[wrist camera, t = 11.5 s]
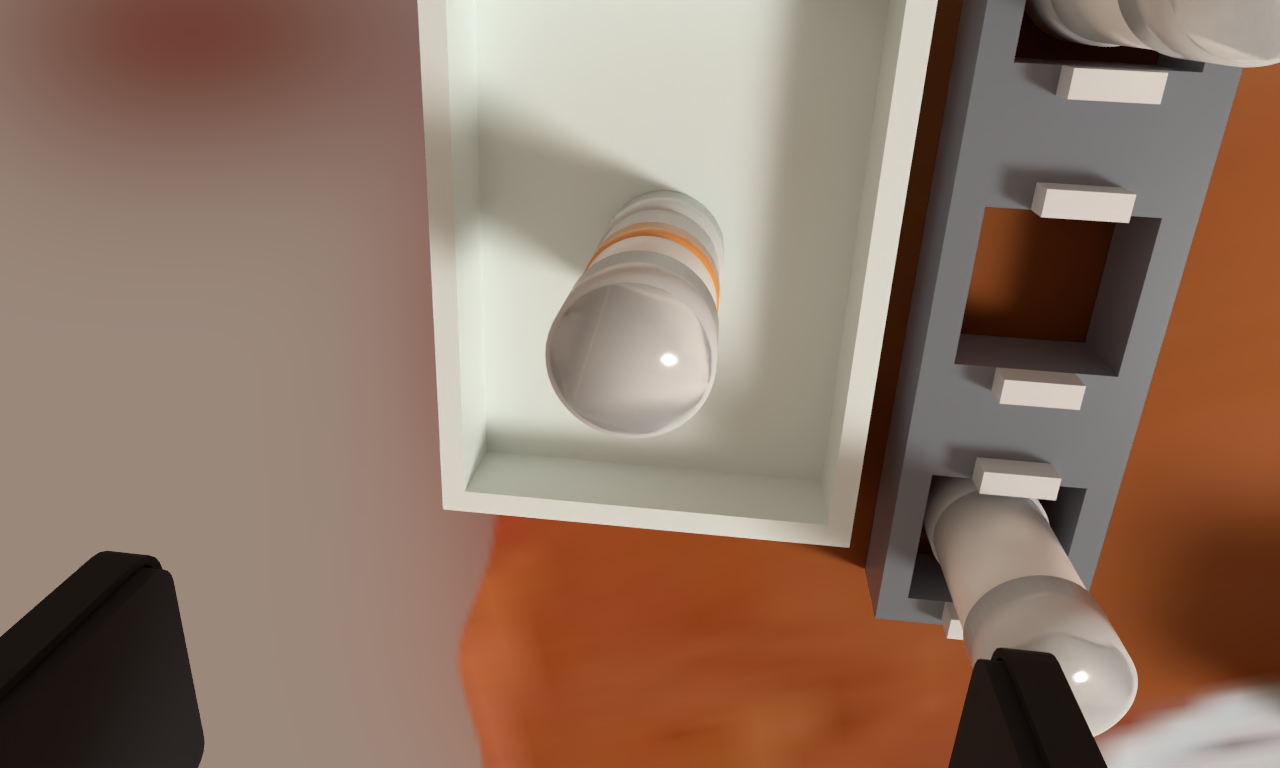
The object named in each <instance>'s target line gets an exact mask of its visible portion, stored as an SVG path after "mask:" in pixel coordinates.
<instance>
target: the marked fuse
mask: <svg viewBox="0 0 1280 768" xmlns="http://www.w3.org/2000/svg"><path fill="white" fill-rule="evenodd" d="M723 263H724V241H723V236H722V232H721V230H720V227H719V225H718V223H717V221H716V219H715V217H714V216H713V215H712V214H711V212H710V211H709V210H708V209H707V208H706V207H705V206H704V205H703V204H702V203H700V202H699V201H698V200H696V199H694V198H692V197H691V196H688V195H686V194H684V193H680V192H676V191H670V190H657V191H650V192H647V193H643V194H641V195H639V196H636V197H635V198H633V199H631V200H629V201H628V202H627V203H626V204H624V205H623V206H622V207H621V208H620V209H619V210H618V212H617V213H616V214H615V216H614V217H613V219H612V220H611V222H610V224H609V226H608V227H607V229H606V231H605V233H604V234H603V236H602V238H601V240H600V242H599V244H598V247H597V249H596V252H595V253H594V255H593V257H592V259H591V260H590V262H589V264H588V266H587V268H586V269H585V271H584V273H583V274H582V275H581V276H580V278H579V279H578V280H577V282H576V283H575V284H574V286H573V288H572V290H571V291H570V293H569V295H568V297H567V298H566V300H565V302H564V304H563V305H562V307H561V309H560V310H559V312H558V314H557V316H556V317H555V319H554V321H553V323H552V325H551V328H550V331H549V333H548V337H547V342H546V351H545V357H546V367H547V372H548V376H549V379H550V382H551V385H552V387H553V389H554V391H555V393H556V395H557V396H558V398H559V399H560V401H561V402H562V403H563V405H564V406H565V407H566V408H567V409H568V410H569V411H570V412H571V413H572V414H573V415H574V416H575V417H576V418H577V419H579V420H580V421H582V422H583V423H584V424H586V425H588V426H590V427H591V428H593V429H595V430H597V431H600V432H602V433H605V434H608V435H612V436H616V437H622V438H648V437H653V436H658V435H661V434H664V433H667V432H669V431H671V430H673V429H675V428H677V427H679V426H681V425H682V424H684V423H685V422H687V421H688V420H689V419H690V418H691V417H692V416H694V415H695V414H696V412H697V411H698V410H699V409H700V408H701V407H702V405H703V404H704V402H705V401H706V399H707V397H708V395H709V393H710V391H711V389H712V386H713V383H714V380H715V374H716V367H717V352H718V337H719V319H718V309H719V296H720V286H721V283H722V276H723Z"/></svg>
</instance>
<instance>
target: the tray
mask: <svg viewBox="0 0 1280 768" xmlns="http://www.w3.org/2000/svg"><path fill="white" fill-rule="evenodd" d="M937 2H938V0H417V3H418V23H419V42H420V62H421V81H422V82H421V83H422V102H423V122H424V142H425V161H426V181H427V202H428V221H429V241H430V261H431V280H432V300H433V320H434V340H435V360H436V380H437V400H438V419H439V438H440V459H441V477H442V478H441V479H442V499H443V509H445V510H456V511H467V512H477V513H487V514H498V515H509V516H519V517H530V518H540V519H551V520H561V521H572V522H582V523H593V524H604V525H614V526H625V527H635V528H646V529H656V530H667V531H677V532H688V533H699V534H709V535H720V536H730V537H741V538H751V539H762V540H772V541H783V542H794V543H804V544H815V545H825V546H836V547H846V548H849V547H850V541H851V534H852V528H853V522H854V516H855V510H856V503H857V497H858V491H859V485H860V479H861V473H862V466H863V460H864V454H865V448H866V442H867V435H868V429H869V423H870V417H871V411H872V404H873V398H874V392H875V386H876V380H877V374H878V367H879V361H880V355H881V349H882V343H883V336H884V330H885V324H886V318H887V312H888V305H889V299H890V293H891V287H892V281H893V275H894V268H895V262H896V256H897V250H898V244H899V237H900V231H901V225H902V219H903V213H904V206H905V200H906V194H907V188H908V182H909V176H910V169H911V163H912V157H913V151H914V145H915V138H916V132H917V126H918V120H919V114H920V108H921V101H922V95H923V89H924V83H925V77H926V70H927V64H928V58H929V52H930V46H931V39H932V33H933V27H934V21H935V15H936V9H937ZM657 190H670V191H676V192H680V193H684V194H686V195H688V196H691V197H692V198H694V199H696V200H698V201H699V202H700V203H702V204H703V205H704V206H705V207H706V208H707V209H708V210H709V211H710V212H711V214H712V215H713V216H714V217H715V219H716V221H717V223H718V225H719V227H720V230H721V232H722V236H723V241H724V263H723V276H722V283H721V286H720V296H719V309H718V319H719V337H718V352H717V367H716V374H715V380H714V383H713V386H712V389H711V391H710V393H709V395H708V397H707V399H706V401H705V402H704V404H703V405H702V407H701V408H700V409H699V410H698V411H697V412H696V414H695V415H694V416H692V417H691V418H690V419H689V420H688V421H687V422H685V423H684V424H682V425H681V426H679V427H677V428H675V429H673V430H671V431H669V432H667V433H664V434H661V435H658V436H653V437H648V438H622V437H616V436H612V435H608V434H605V433H602V432H600V431H597V430H595V429H593V428H591V427H590V426H588V425H586V424H584V423H583V422H582V421H580V420H579V419H577V418H576V417H575V416H574V415H573V414H572V413H571V412H570V411H569V410H568V409H567V408H566V407H565V406H564V405H563V403H562V402H561V401H560V399H559V398H558V396H557V395H556V393H555V391H554V389H553V387H552V385H551V382H550V379H549V376H548V372H547V367H546V357H545V351H546V342H547V337H548V333H549V331H550V328H551V325H552V323H553V321H554V319H555V317H556V316H557V314H558V312H559V310H560V309H561V307H562V305H563V304H564V302H565V300H566V298H567V297H568V295H569V293H570V291H571V290H572V288H573V286H574V284H575V283H576V282H577V280H578V279H579V278H580V276H581V275H582V274H583V273H584V271H585V269H586V268H587V266H588V264H589V262H590V260H591V259H592V257H593V255H594V253H595V252H596V249H597V247H598V244H599V242H600V240H601V238H602V236H603V234H604V233H605V231H606V229H607V227H608V226H609V224H610V222H611V220H612V219H613V217H614V216H615V214H616V213H617V212H618V210H619V209H620V208H621V207H622V206H623V205H624V204H626V203H627V202H628V201H629V200H631V199H633V198H635V197H636V196H639V195H641V194H643V193H647V192H650V191H657Z"/></svg>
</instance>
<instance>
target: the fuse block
mask: <svg viewBox="0 0 1280 768" xmlns="http://www.w3.org/2000/svg"><path fill="white" fill-rule="evenodd" d="M1025 3H1026V0H963V2H962V8H961V14H960V20H959V26H958V31H957V37H956V43H955V49H954V55H953V61H952V66H951V72H950V78H949V84H948V90H947V95H946V101H945V107H944V113H943V119H942V125H941V130H940V136H939V142H938V148H937V154H936V160H935V165H934V171H933V177H932V183H931V189H930V194H929V200H928V206H927V212H926V218H925V224H924V229H923V235H922V241H921V247H920V253H919V258H918V264H917V270H916V276H915V282H914V288H913V293H912V299H911V305H910V311H909V317H908V322H907V328H906V334H905V340H904V346H903V352H902V357H901V363H900V369H899V375H898V381H897V386H896V392H895V398H894V404H893V410H892V416H891V421H890V427H889V433H888V439H887V445H886V450H885V456H884V462H883V468H882V474H881V480H880V485H879V491H878V497H877V503H876V509H875V514H874V520H873V526H872V532H871V538H870V544H869V549H868V555H867V561H866V567H865V572H866V577H867V581H868V586H869V591H870V596H871V600H872V605H873V610H874V615H875V618H880V619H890V620H900V621H910V622H920V623H930V624H939V625H943V627H944V630H945V634H946V637H947V638H950V639H959V640H963V629H962V626H961V623H960V620H959V618H958V615H957V612H956V609H955V606H954V603H953V600H952V597H951V594H950V592H949V589H948V586H947V583H946V580H945V577H944V574H943V571H942V568H941V565H940V564H939V562H938V561H937V559H936V558H935V556H934V554H925V553H917V549H918V544H919V539H920V534H921V529H922V524H923V519H924V514H925V509H926V504H927V499H928V494H929V489H930V484H931V479H932V475H938V476H950V477H961V478H972V479H973V481H974V484H975V486H976V488H977V490H978V492H979V494H989V495H1000V496H1011V497H1022V498H1034V499H1045V500H1044V504H1043V509H1044V510H1045V512H1046V514H1047V517H1048V520H1049V525H1050V527H1051V529H1052V530H1053V532H1054V534H1055V536H1056V537H1057V539H1058V541H1059V543H1060V544H1061V546H1062V548H1063V549H1064V551H1065V553H1066V555H1067V556H1068V558H1069V560H1070V562H1071V563H1072V565H1073V567H1074V569H1075V570H1076V572H1077V574H1078V575H1079V577H1080V579H1081V581H1082V582H1083V584H1084V586H1085V588H1086V589H1087V591H1088V592H1089V590H1090V587H1091V583H1092V580H1093V576H1094V573H1095V570H1096V566H1097V563H1098V559H1099V556H1100V553H1101V549H1102V546H1103V542H1104V539H1105V536H1106V532H1107V529H1108V525H1109V522H1110V519H1111V515H1112V512H1113V508H1114V505H1115V502H1116V498H1117V495H1118V491H1119V488H1120V485H1121V481H1122V478H1123V474H1124V471H1125V468H1126V464H1127V461H1128V457H1129V454H1130V451H1131V447H1132V444H1133V440H1134V437H1135V434H1136V430H1137V427H1138V423H1139V420H1140V417H1141V413H1142V410H1143V406H1144V403H1145V400H1146V396H1147V393H1148V389H1149V386H1150V383H1151V379H1152V376H1153V372H1154V369H1155V366H1156V362H1157V359H1158V355H1159V352H1160V349H1161V345H1162V342H1163V338H1164V335H1165V332H1166V328H1167V325H1168V321H1169V318H1170V315H1171V311H1172V308H1173V304H1174V301H1175V298H1176V294H1177V291H1178V287H1179V284H1180V281H1181V277H1182V274H1183V270H1184V267H1185V264H1186V260H1187V257H1188V253H1189V250H1190V247H1191V243H1192V240H1193V236H1194V233H1195V230H1196V226H1197V223H1198V219H1199V216H1200V213H1201V209H1202V206H1203V202H1204V199H1205V196H1206V192H1207V189H1208V185H1209V182H1210V179H1211V175H1212V172H1213V168H1214V165H1215V162H1216V158H1217V155H1218V151H1219V148H1220V145H1221V141H1222V138H1223V134H1224V131H1225V128H1226V124H1227V121H1228V117H1229V114H1230V111H1231V107H1232V104H1233V100H1234V97H1235V94H1236V90H1237V87H1238V83H1239V80H1240V77H1241V73H1242V70H1243V67H1234V66H1226V65H1219V64H1213V63H1206V62H1200V61H1193V60H1186V59H1180V58H1174V57H1170V56H1167V55H1164V54H1161V53H1159V57H1158V61H1157V65H1156V64H1137V63H1117V62H1098V61H1079V60H1060V59H1041V58H1021V57H1015V53H1016V48H1017V43H1018V38H1019V33H1020V28H1021V23H1022V18H1023V13H1024V8H1025ZM985 207H998V208H1014V209H1029V210H1032V211H1033V212H1035V213H1036V214H1037V215H1039V216H1040V217H1044V218H1059V219H1074V220H1090V221H1105V222H1116V224H1115V228H1114V232H1113V236H1112V239H1111V243H1110V247H1109V251H1108V255H1107V259H1106V263H1105V267H1104V271H1103V274H1102V278H1101V282H1100V286H1099V290H1098V294H1097V298H1096V302H1095V305H1094V309H1093V313H1092V317H1091V321H1090V325H1089V329H1088V333H1087V337H1086V340H1085V343H1079V342H1066V341H1053V340H1040V339H1026V338H1013V337H1000V336H987V335H974V334H960V332H961V327H962V322H963V317H964V312H965V307H966V301H967V296H968V291H969V286H970V281H971V276H972V271H973V266H974V261H975V256H976V251H977V246H978V241H979V236H980V231H981V226H982V220H983V215H984V210H985Z"/></svg>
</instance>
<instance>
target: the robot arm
mask: <svg viewBox="0 0 1280 768" xmlns="http://www.w3.org/2000/svg"><path fill="white" fill-rule="evenodd" d="M203 751H204V736H203V730H202V725H201V720H200V714H199V709H198V704H197V699H196V694H195V689H194V684H193V678H192V673H191V668H190V664H189V658H188V653H187V648H186V643H185V637H184V633H183V627H182V622H181V618H180V612H179V607H178V602H177V597H176V591H175V586H174V581H173V578H172V575H171V574H170V573H169V572H168V571H166V570H163V569H162V567H161V564H160V562H159V561H158V560H157V559H156V558H155V557H152V556H149V555H140V554H130V553H121V552H112V551H104V552H100V553H98V554H96V555H95V556H93V557H92V558H91V559H90V560H88V561H87V562H86V563H85V564H84V565H82V566H81V567H80V568H79V569H78V570H77V571H76V572H75V573H73V574H72V575H71V576H70V577H69V578H68V579H66V580H65V581H64V582H63V583H62V584H61V585H59V587H57V588H56V589H55V590H54V591H53V592H52V593H50V594H49V595H48V596H47V597H46V598H45V599H43V600H42V601H41V602H40V603H39V604H38V605H37V606H35V607H34V608H33V609H32V610H31V611H30V612H28V613H27V614H26V615H25V616H24V617H23V618H22V619H20V620H19V621H18V622H17V623H16V624H15V625H14V626H12V627H11V628H10V629H9V630H8V631H7V632H6V633H4V634H3V635H2V636H1V637H0V768H198V766H199V764H200V761H201V758H202V755H203ZM948 768H1107V765H1106V763H1105V761H1104V759H1103V757H1102V755H1101V752H1100V750H1099V748H1098V746H1097V744H1096V742H1095V739H1094V737H1093V735H1092V733H1091V731H1090V729H1089V726H1088V724H1087V722H1086V720H1085V718H1084V716H1083V713H1082V711H1081V709H1080V707H1079V705H1078V703H1077V700H1076V698H1075V696H1074V694H1073V692H1072V690H1071V687H1070V685H1069V683H1068V681H1067V679H1066V677H1065V675H1064V672H1063V670H1062V668H1061V666H1060V664H1059V662H1058V660H1057V659H1056V657H1055V656H1054V655H1053V654H1051V653H1048V652H1039V651H1029V650H1020V649H1011V648H1002V647H1000V648H996V650H995V651H994V653H993V655H992V657H991V660H988V659H978V660H977V661H976V663H975V665H974V668H973V672H972V676H971V680H970V684H969V688H968V692H967V695H966V699H965V703H964V707H963V711H962V715H961V719H960V723H959V727H958V731H957V735H956V739H955V743H954V747H953V751H952V755H951V759H950V763H949V767H948Z"/></svg>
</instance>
